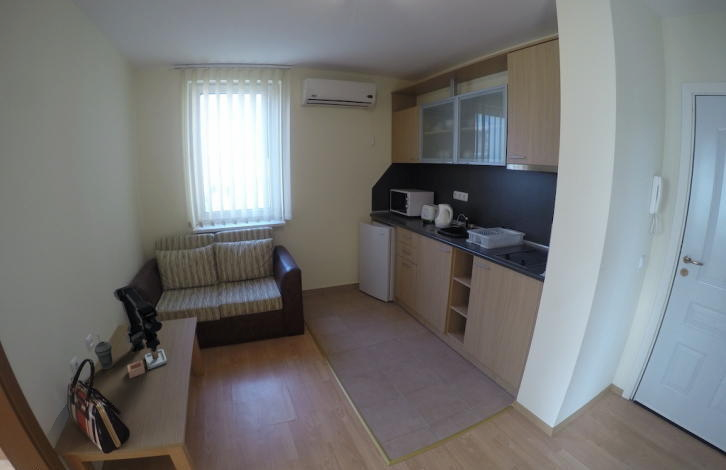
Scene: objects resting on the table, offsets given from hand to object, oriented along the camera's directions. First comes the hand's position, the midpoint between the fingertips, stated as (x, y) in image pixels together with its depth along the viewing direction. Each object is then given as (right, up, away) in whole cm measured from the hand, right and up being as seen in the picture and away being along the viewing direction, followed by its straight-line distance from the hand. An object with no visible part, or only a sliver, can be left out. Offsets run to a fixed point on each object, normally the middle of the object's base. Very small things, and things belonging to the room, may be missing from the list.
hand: (153, 350), depth 178 cm
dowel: (0, -5, +1) cm, 5 cm away
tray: (0, -6, +2) cm, 6 cm away
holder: (-4, -9, -8) cm, 13 cm away
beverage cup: (-23, -8, -3) cm, 25 cm away
